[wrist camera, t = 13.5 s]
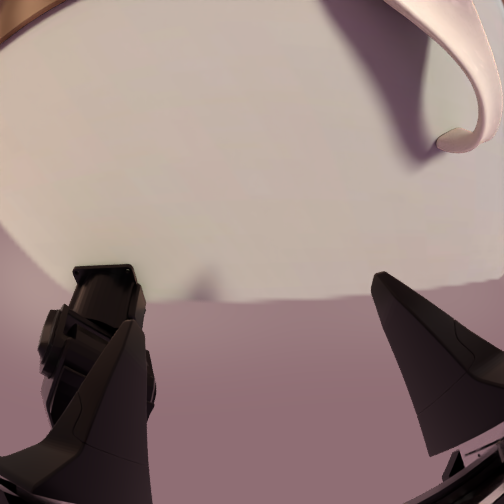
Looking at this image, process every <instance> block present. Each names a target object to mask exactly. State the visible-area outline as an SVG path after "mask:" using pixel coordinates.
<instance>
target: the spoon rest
mask: <svg viewBox="0 0 504 504" xmlns="http://www.w3.org/2000/svg"><path fill="white" fill-rule="evenodd" d="M384 1H385V2H386V3H387V4H388V5H390V6H391V7H392V8H394V9H395V10H397V11H398V12H399V13H401V14H402V15H403V16H405V17H406V18H407V19H409V20H410V21H411V22H413V23H414V24H415V25H416V26H418V27H419V28H420V29H421V30H422V31H424V32H425V33H426V34H427V35H429V36H430V37H431V38H432V39H433V40H435V41H436V42H437V43H438V44H439V45H440V46H441V47H442V48H443V49H444V50H445V51H446V52H447V53H448V54H449V55H450V56H451V57H452V58H453V59H454V60H455V61H456V62H457V64H458V65H459V66H460V67H461V69H462V70H463V71H464V73H465V74H466V76H467V77H468V79H469V80H470V82H471V84H472V86H473V89H474V91H475V94H476V97H477V101H478V121H477V125H476V128H475V130H474V131H473V132H471V131H468V130H465V129H463V128H455V129H453V130H451V131H449V132H447V133H446V134H444V135H442V136H440V137H439V138H438V140H437V143H436V145H437V148H439V149H441V150H443V151H446V152H451V153H465V152H468V151H471V150H473V149H474V148H476V147H477V146H478V145H479V144H481V143H484V142H486V141H489V140H490V139H491V138H493V136H494V135H495V133H496V132H497V130H498V127H499V125H500V121H501V116H502V109H503V95H502V86H501V81H500V77H499V73H498V70H497V66H496V63H495V59H494V56H493V53H492V50H491V47H490V45H489V42H488V39H487V36H486V34H485V31H484V28H483V26H482V23H481V21H480V18H479V15H478V13H477V11H476V8H475V6H474V3H473V1H472V0H384Z"/></svg>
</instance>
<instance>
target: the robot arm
mask: <svg viewBox="0 0 504 504" xmlns="http://www.w3.org/2000/svg"><path fill="white" fill-rule="evenodd" d="M126 269H129V270H126ZM72 272H73V275H74V278H75V280H76V282H77V286H76V289H75V291H74V294H73V296H72V299H71V301H70V304H69V306H67V305H66V304H64V305H63V306H62V308H61V309H60V310H50V312H49V314H48V316H47V319H46V321H45V324H44V326H43V330H42V333H41V336H40V340H39V345H38V352H39V355H40V373H41V374H43V375H44V376H45V377H44V380H43V384H42V388H41V395H42V399H43V403H44V407H45V411H46V414H47V417H48V421H49V424H50V427H51V431H50V432H49V434H48V435H47V436H46V438H45V439H44V440H43V441H41V442H40V443H38V444H36V445H34V446H31V447H29V448H26V449H24V450H21V451H19V452H16V453H13V454H11V455H8V456H3V457H1V456H0V475H1V476H0V504H153V503H152V495H151V486H150V475H149V466H148V465H149V464H148V449H147V421H148V418H149V415H150V413H151V411H152V409H153V408H154V400H155V396H156V383H155V378H154V374H153V369H152V364H151V359H150V354H149V351H148V350H146V349H145V335H144V332H143V331H142V327H143V319H144V314H145V311H146V309H145V306H146V301H145V298H144V295H143V291H142V288H141V285H140V284H139V283H137V279H136V276H135V272H134V268H133V266H131V265H130V264H119V265H98V266H76V267H74V269H73V271H72ZM371 294H372V297H373V300H374V303H375V306H376V309H377V312H378V315H379V318H380V321H381V324H382V327H383V329H384V332H385V334H386V336H387V339H388V341H389V343H390V346H391V348H392V351H393V353H394V355H395V358H396V360H397V363H398V365H399V368H400V370H401V373H402V375H403V378H404V381H405V383H406V386H407V388H408V391H409V394H410V397H411V400H412V402H413V405H414V408H415V411H416V414H417V418H418V420H419V424H420V427H421V430H422V433H423V436H424V440H425V443H426V447H427V450H428V454H429V456H430V457H431V456H434V455H437V454H439V453H441V452H444V451H446V450H449V449H451V448H454V447H456V446H458V447H459V449H457V450H456V451H454V452H453V453H452V455H451V457H450V460H449V462H448V465H447V467H446V469H445V472H444V473H443V475H442V480H443V483H441V484H439V485H438V486H436V487H434V488H433V489H431V490H429V491H427V492H425V493H423V494H422V495H420V496H418V497H416V498H414V499H412V500H410V501H408V502H406V503H404V504H504V351H502V350H500V349H498V348H497V347H495V346H494V345H492V344H490V343H489V342H487V341H486V340H484V339H482V338H481V337H479V336H478V335H476V334H475V333H473V332H471V331H470V330H469V329H467V328H466V327H465V326H463V325H462V324H460V323H459V322H458V321H456V320H454V319H453V318H452V317H451V316H449V315H448V314H447V313H445V312H444V311H442V310H441V309H439V308H438V307H437V306H435V305H434V304H432V303H431V302H430V301H428V300H427V299H425V298H424V297H423V296H421V295H420V294H418V293H417V292H415V291H414V290H412V289H411V288H409V287H408V286H406V285H405V284H404V283H402V282H401V281H399V280H398V279H396V278H395V277H393V276H391V275H390V274H388V273H387V272H385V271H383V272H379V273H376V274H375V275H374V278H373V282H372V286H371Z"/></svg>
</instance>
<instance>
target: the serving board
mask: <svg viewBox="0 0 504 504" xmlns="http://www.w3.org/2000/svg"><path fill="white" fill-rule="evenodd" d="M64 1H66V0H0V44H1V43H3V42H4V41H5V40H6V39H8V38H9V37H10V36H11V35H13V34H14V33H15V32H17V31H18V30H20V29H21V28H22V27H24V26H25V25H27V24H28V23H30V22H31V21H33V20H34V19H36V18H37V17H39V16H40V15H42V14H43V13H45V12H47V11H48V10H50V9H52V8H53V7H55V6H57V5H59V4H60V3H62V2H64Z"/></svg>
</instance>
